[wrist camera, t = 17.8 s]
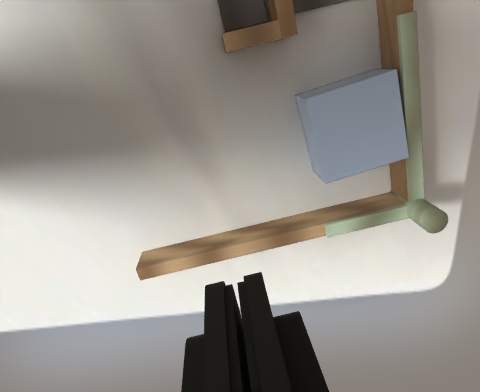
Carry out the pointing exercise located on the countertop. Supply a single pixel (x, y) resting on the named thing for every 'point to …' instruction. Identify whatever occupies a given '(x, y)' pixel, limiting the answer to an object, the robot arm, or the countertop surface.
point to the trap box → (340, 216)
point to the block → (354, 124)
